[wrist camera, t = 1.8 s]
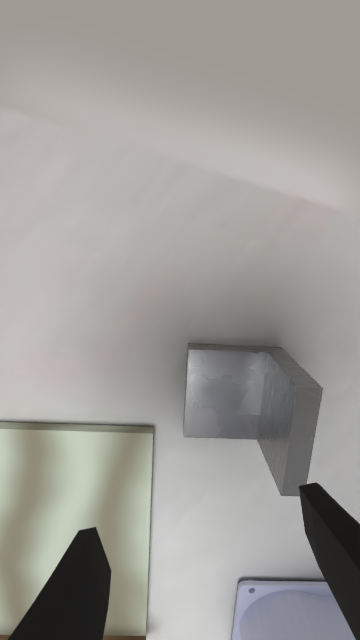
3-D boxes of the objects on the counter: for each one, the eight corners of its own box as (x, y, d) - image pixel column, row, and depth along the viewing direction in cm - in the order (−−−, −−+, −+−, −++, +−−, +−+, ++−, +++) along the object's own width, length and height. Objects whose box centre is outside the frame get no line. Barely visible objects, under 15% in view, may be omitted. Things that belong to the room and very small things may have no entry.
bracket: (280, 347, 21) (322, 388, 15) (269, 429, 22) (304, 496, 16) (187, 343, 21) (194, 383, 15) (183, 426, 22) (187, 493, 16)
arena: (153, 426, 22) (148, 479, 17) (146, 635, 26) (140, 723, 22) (-140, 417, 21) (-232, 470, 16) (-95, 633, 26) (-157, 724, 21)
